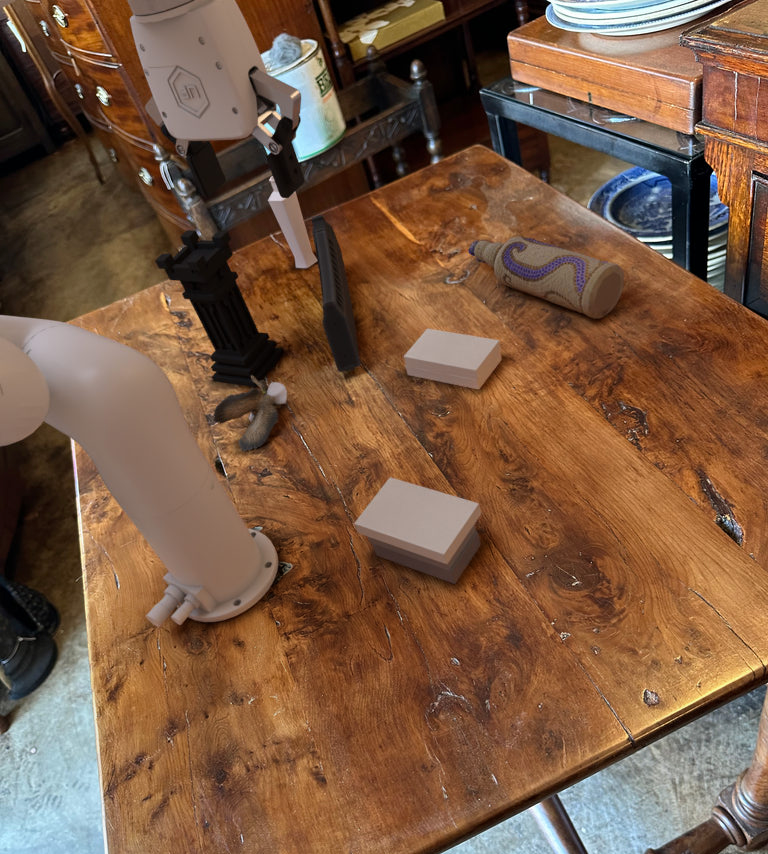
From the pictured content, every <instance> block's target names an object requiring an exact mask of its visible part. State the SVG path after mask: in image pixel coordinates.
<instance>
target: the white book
mask: <svg viewBox="0 0 768 854" xmlns="http://www.w3.org/2000/svg"><path fill="white" fill-rule="evenodd" d="M481 515H482V510H481V506H480V503H479V502H475V501H472V500H469V499H467V498H466V499H465V498H462V497H459V496H455V495H451V494H449V493H445V492H442V491H439V490H435V489H431V488H428V487H425V486H421V485H418V484H415V483H411V482H408V481H404V480H402V479H398V478H395V477H391V476H390V477H389V478H388V479H387V480H386V482H385V483H384V484H383V485H382V487H381V488H380V489H379V490H378V492H377V493H376V494H375V496H374V497H373V498H372V500H371V501H370V502H369V503H368V505H367V506H366V507H365V509H364V510H363V511H362V513H361V514H360V515H359V516H358V518H356V520H355V521H354V523H353V525H354V527H355V529H356V531H357V533H358V534H360V535H362V536H364V537H367V536H368V537H370V538H373V539H376V540H379V541H382V542H385V543H387V544H390V545H393V546H396V547H399V548H402V549H405V550H407V551H410V552H413V553H416V554H419V555H422V556H425V557H427V558H430V559H433V560H436V561H439V562H442V563H445V564H448V562H449V561H450V559H451V558H452V557H453V555H454V554H455V552H456V551H457V549H458V548H459V546H460V545H461V543H462V542H463V540H464V539H465V537H466V536H467V534H468V533H469V531H470V530H471V528H472V527H473V525H475V524H476V522H477V521H478V520H479V519H480V516H481ZM368 537H367V538H368Z"/></svg>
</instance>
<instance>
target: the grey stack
mask: <svg viewBox="0 0 768 854" xmlns="http://www.w3.org/2000/svg"><path fill="white" fill-rule="evenodd" d="M476 529H477V528H476V525H475V524H474V525H473V527H472V528H471V530H470V531H469V533H468V534H467V536H466V537H465V539H464V540H463V542H462V543H461V545H460V546H459V548H458V549H457V551H456V552H455V554H454V555H453V557H452V558H451V559H450V561H449V562H448V564H445V563H442V562H439V561H436V560H433V559H430V558H427V557H425V556H422V555H419V554H416V553H413V552H410V551H407V550H405V549H402V548H399V547H396V546H393V545H390V544H387V543H385V542H382V541H379V540H376V539H373V538H370V537H368V536H366V538H367V539H368V542H369V543H370V544H371V546H372V547H373V548H372V549H373V550H374V553H375V555H376V556H377V557H379V558H383V559H385V560H387V561H390V562H393V563H396V564H398V565H401V566H404V567H406V568H409V569H412V570H415V571H418V572H421V573H422V574H426V575H428V576H431V577H435V578H437V579H440V580H443V581H445V582H448V583H451V584H452V585H453V584H454V585H456V584H457V582H458V580H459V579H460V577H461V576H462V574H463V573H464V571H465V570H466V568H467V567H468V565H469V564H470V562H471V561H472V559H473V558H474V556H475V555H476V553H477V552H478V550H479V549H480V547H481V545H482V543H481V538H480V535H479V532H478V531H477V530H476Z"/></svg>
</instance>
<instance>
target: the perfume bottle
mask: <svg viewBox="0 0 768 854" xmlns="http://www.w3.org/2000/svg"><path fill="white" fill-rule="evenodd" d="M268 181H269V182H270V185H271V187H272V190H273V191H272V192H271V194H270V196H269V197H268V199H267V201H268V203H269V206H270V208H271V210H272V212H273V215H274V216H275V219H276V221H277V223H278V225H279V228H280V229H281V232H282V234H283V236H284V238H285V240H286V242H287V244H288V247H289V248H290V249H289V250H290V251H291V253H292V255H293V257H294V262H295V269H309V268H310V267H312V266H313V265H315V264H316V263H318V261H317V256H316V255H315V254H314V252H313V248H312V246H311V241H310V238H309V234H308V231H307V227H306V224H305V220H304V217H303V213H302V209H301V207H300V202H299V200H298V195H297V193H296V191H295V192H294V193H293V194H292V195H291V196H290V197H289V198H282V197H281V196H280V194H279V191H278V189H277V186H276V183H275V181H274V178H273V175H271V176H270V178H269V179H268Z"/></svg>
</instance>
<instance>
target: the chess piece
mask: <svg viewBox="0 0 768 854" xmlns="http://www.w3.org/2000/svg"><path fill="white" fill-rule="evenodd" d="M179 239H180V240H181V242H182V244H183V247H182V248H181V249H180V250H179V251H178V252H177V253H176V254H175V255H174V256H173V255H172V253H161V254H160V255H159V256H158V257H157V258H156V259H155V260H154V261H155V263H156V265H157V268H158V269H160V270H164V272H165V273H166V275H167V277H168V279H169V281H179V282H180V284H181V286H182V288H183V290H184V291H183V292H182V293H181V295H182V297H183V299H184V300H189V302H190V304H191V305H192V308H193V309H194V312H195V314H196V315H197V317H198V320H199V321H200V324H201V325H202V327H203V329H204V331H205V334H206V335H207V338H208V339H209V341H210V343H211V345H212V347H213V349H214V352H213V353H212V354H211V355H210V356H209V358H210V360H211V362H214V363H213V364H212V365H211V366H210V369H211V370H212V372H213V373H214V374H213V375H211V379H212V381H213V382H217V383H224V384H231V385H238V386H245V387H251V388H257V387H258V385H257V384H256V383H254V382H253V380H252V379H251V375H252V376H254V377H255V378H256V379H257V380H258V381H259V382H260V381H262V380H264V378H265V376H267V375H268V373H269V372H270V371H271V369H272V368H273V367H274V366H275V365H276V363H277V362H278V361H279V360H280V358H281V357H282V356H283V355H284V354H285V350H284V348H283V347H277V346H278V344H277V341H276V340H273V339H270V335H269V332H260V331H259V329H258V327H257V325H256V323H255V321H254V318H253V316H252V314H251V312H250V310H249V307H248V306H247V303H246V301H245V298H244V297H243V296H244V295H243V294H242V291H241V290H240V287H239V285H238V282H237V281H236V280H237V279H239V275H238V273H237V271H232V269H231V267H230V264H229V263H228V261H229V259H230V258H231V257H233V256H234V253H233V251H232V249H231V247H230V244H229V243H230V242H231V240H232V238H231V236H230V234H229V231H228V230H218V231H217V232H216V233H215V234H214V235H212V236H211V240H206V239H205V240H204V239H200V237H199V234H198V232H197V230H191V229H189V230H188V229H187V230H186V231H184V232H183V233H182V234H181V235H180V236H179Z"/></svg>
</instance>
